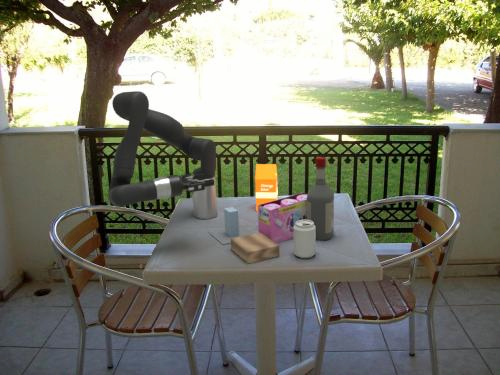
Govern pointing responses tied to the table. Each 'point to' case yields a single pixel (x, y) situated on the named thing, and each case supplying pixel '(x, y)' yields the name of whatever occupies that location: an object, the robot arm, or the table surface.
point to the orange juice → (266, 183)
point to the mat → (226, 239)
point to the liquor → (321, 203)
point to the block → (231, 222)
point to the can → (304, 238)
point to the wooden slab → (254, 247)
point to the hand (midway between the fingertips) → (209, 179)
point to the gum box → (282, 216)
